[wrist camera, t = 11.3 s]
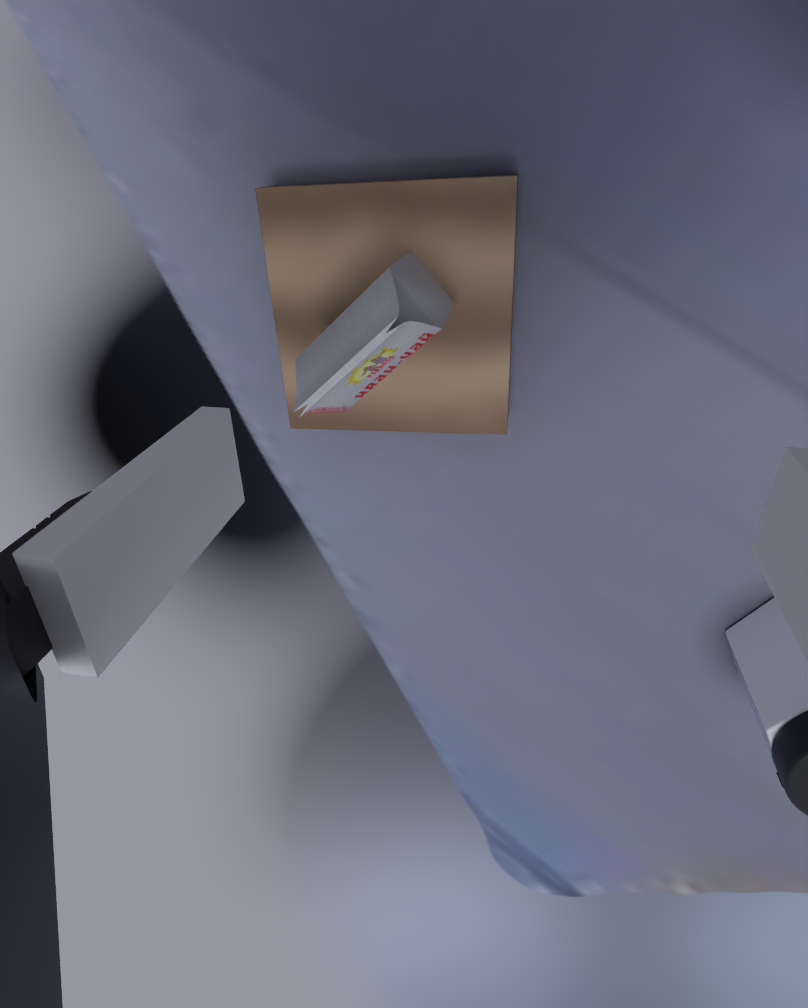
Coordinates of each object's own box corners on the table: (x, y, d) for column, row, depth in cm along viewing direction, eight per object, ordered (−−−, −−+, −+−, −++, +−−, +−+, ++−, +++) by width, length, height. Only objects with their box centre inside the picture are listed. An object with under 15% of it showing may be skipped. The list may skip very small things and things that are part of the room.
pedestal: (275, 185, 35) (255, 188, 33) (518, 174, 33) (517, 175, 30) (305, 411, 42) (290, 428, 40) (508, 416, 40) (506, 434, 37)
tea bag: (328, 330, 36) (265, 384, 27) (411, 249, 33) (370, 282, 24) (370, 376, 37) (322, 443, 28) (454, 302, 34) (429, 352, 25)
